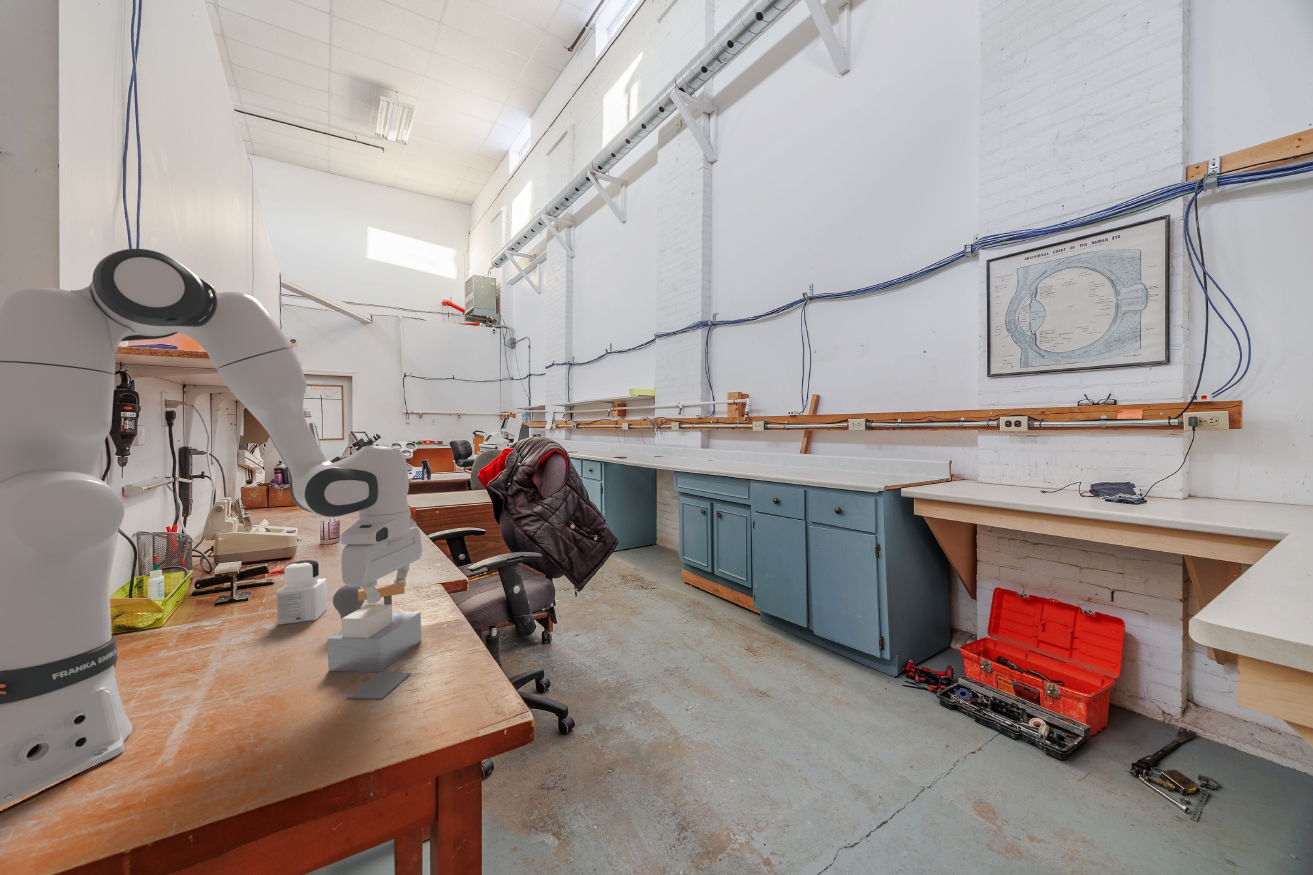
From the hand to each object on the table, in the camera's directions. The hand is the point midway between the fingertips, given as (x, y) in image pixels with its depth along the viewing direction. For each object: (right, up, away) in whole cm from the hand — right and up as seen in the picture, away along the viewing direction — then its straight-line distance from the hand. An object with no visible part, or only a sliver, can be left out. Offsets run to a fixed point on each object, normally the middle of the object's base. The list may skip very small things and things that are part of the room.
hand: (387, 594), depth 98 cm
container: (-29, -11, +17) cm, 36 cm away
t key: (0, -5, 0) cm, 5 cm away
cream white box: (0, -5, -6) cm, 8 cm away
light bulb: (-13, -11, +9) cm, 19 cm away
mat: (+7, -11, -15) cm, 20 cm away
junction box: (0, -11, -3) cm, 11 cm away
